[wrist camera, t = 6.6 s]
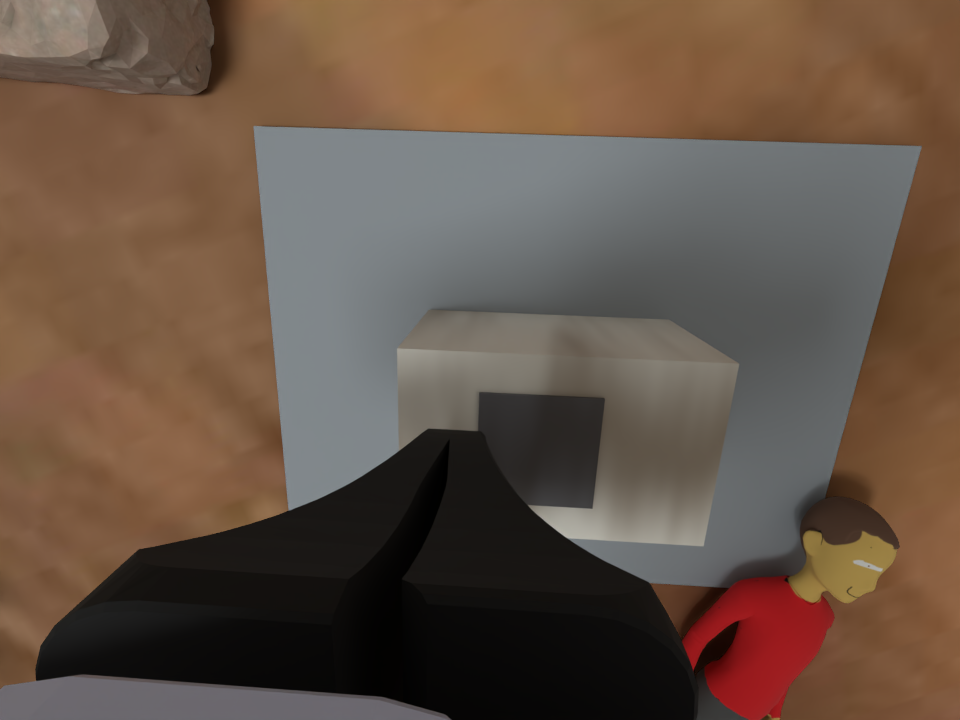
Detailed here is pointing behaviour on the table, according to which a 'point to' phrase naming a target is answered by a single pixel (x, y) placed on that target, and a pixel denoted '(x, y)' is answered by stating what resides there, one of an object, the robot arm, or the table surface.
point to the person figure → (788, 612)
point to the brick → (109, 44)
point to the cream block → (579, 414)
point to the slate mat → (585, 292)
